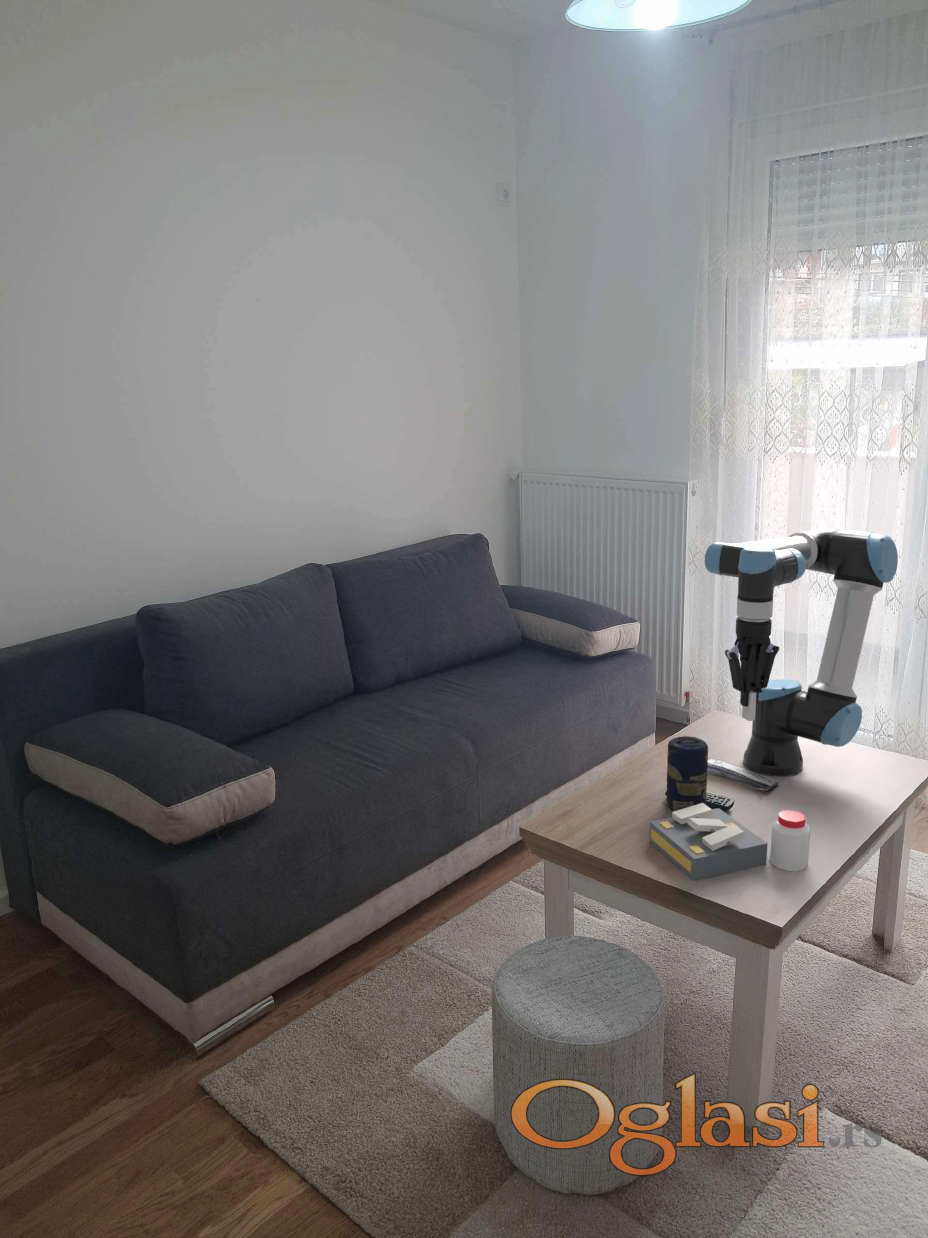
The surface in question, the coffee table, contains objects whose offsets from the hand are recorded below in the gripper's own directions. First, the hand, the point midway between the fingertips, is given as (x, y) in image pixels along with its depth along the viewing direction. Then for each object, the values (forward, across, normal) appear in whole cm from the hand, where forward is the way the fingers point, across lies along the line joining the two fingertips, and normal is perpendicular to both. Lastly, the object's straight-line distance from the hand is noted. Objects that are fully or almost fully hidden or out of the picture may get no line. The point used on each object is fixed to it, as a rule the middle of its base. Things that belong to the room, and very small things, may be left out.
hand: (748, 718), depth 212 cm
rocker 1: (+20, +15, +2) cm, 25 cm away
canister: (+27, +7, -13) cm, 30 cm away
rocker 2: (+20, +15, +8) cm, 26 cm away
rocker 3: (+20, +15, +14) cm, 29 cm away
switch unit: (+26, +15, +8) cm, 31 cm away
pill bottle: (+27, +1, +18) cm, 32 cm away
